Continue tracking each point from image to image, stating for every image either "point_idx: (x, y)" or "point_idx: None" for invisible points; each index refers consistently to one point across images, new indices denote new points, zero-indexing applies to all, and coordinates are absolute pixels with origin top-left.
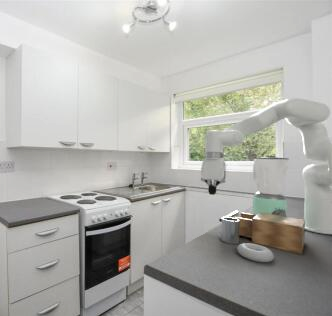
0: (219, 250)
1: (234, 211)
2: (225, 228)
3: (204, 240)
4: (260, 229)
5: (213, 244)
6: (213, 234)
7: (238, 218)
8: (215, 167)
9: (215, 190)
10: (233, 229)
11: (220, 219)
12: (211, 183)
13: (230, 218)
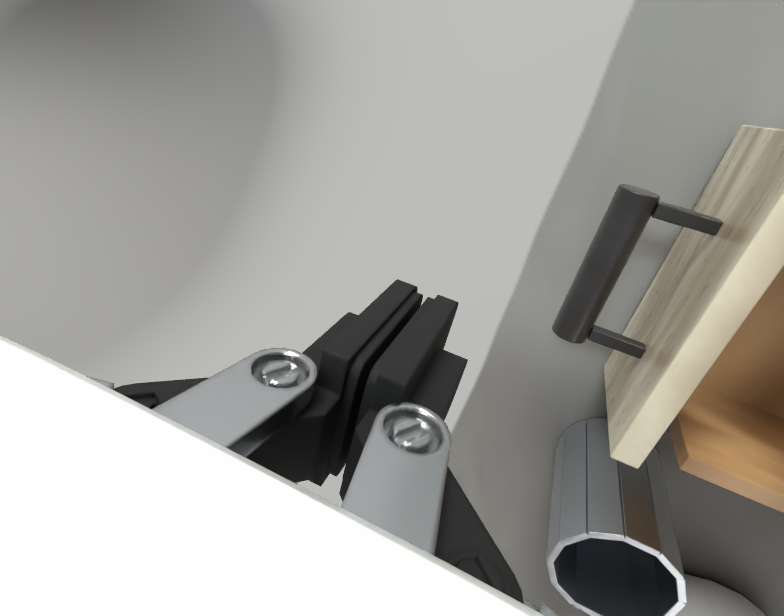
0: (532, 570)
1: (776, 208)
2: (571, 545)
3: (468, 478)
4: None
5: (509, 516)
6: (516, 370)
7: (718, 481)
8: None
9: (443, 418)
10: (621, 566)
11: (563, 336)
12: (281, 419)
13: (623, 535)
